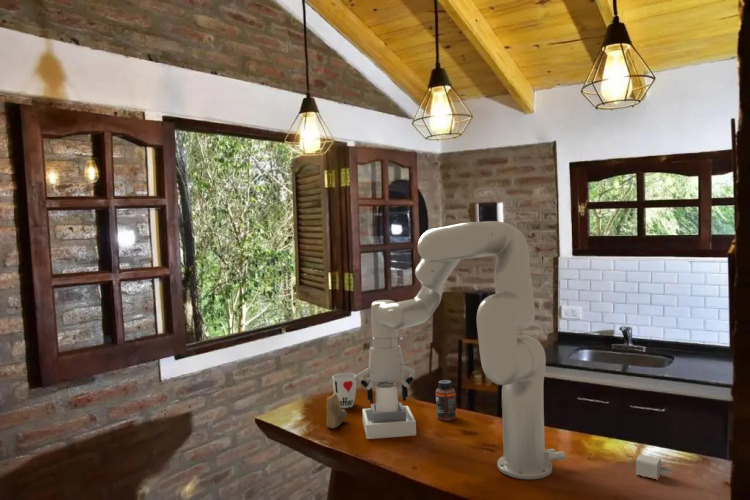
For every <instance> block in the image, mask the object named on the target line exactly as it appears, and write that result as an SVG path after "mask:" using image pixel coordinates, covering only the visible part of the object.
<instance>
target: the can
mask: <svg viewBox="0 0 750 500" xmlns="http://www.w3.org/2000/svg"><path fill="white" fill-rule="evenodd" d="M398 392H399V391H398V388H397V384H396V383H395V382H384V383H376V388H375V404H376V413H387V412H398V402H399V393H398Z"/></svg>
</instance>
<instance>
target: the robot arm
mask: <svg viewBox="0 0 750 500" xmlns="http://www.w3.org/2000/svg"><path fill="white" fill-rule="evenodd" d="M417 252H418V255H419V256H420V258H421V260H420V261H419V262H418V264H417V266H416V268H415V271H414V274H415V277H416V279H417V280H418V281H419V283H420V284H422V286H421V288H420V290H419V291H418V293H417V294H416V295H415V297H414V298H412V299H407V300H402V301H401V300H400V301H397V302H396V301H394V300H391V299H378V300H375V301H372V303H371V305H370V316H371V318H370V319H371V337H372V338H371V339H372V346H370V347H369V350H368V367H366V368H364V369H363V370H361V371H360V372H358V373H357V374H356V378H357V379H358V380H359V383H360V384H361V385H362V386H363V387H364V388H365V389H366V396H367V399H366V400H368V401H369V403H370V404H374V395H373V394H374V393H373V386H374V385H375V384H378V383H384V382H393V383H395V382H400V383H401V399H402V401H403V402H406V401H407V398H408V387H409V386H410V384H411V383H412V382H413V381H414V378H415V376H416V374H417V371H416V370H415V368H412V367H409V366H407V365H405V364H404V359H403V352H402V347H401V345H399V344H402V343H403V342H404V338H403V337H399V334H398V333H399V332H398V331H399V330H402V329H407V328H410V327H416V326H418V325H421V324H424V323H426V322H427V321H428V320H429V319H430V318H431V316H432V315H433V314H434V313H435V311H436V309H438V307H439V305H440V303H441V300H442V296H443V286H444V284H445V283H446V281H447V280H448V279H449V276H450V275H451V274H452V273H453V272H454V270H455V268H456V267H457V265H458V264H459V262H460V261H461V260H467V259H476V258H485V257H495V258H496V260H495V266H494V270H493V278H494V287H495V288H494V289H495V293H493V294H491V295H488V296H487V297H485V298H484V299H483V300H481V302H480V303H479V305H478V308H477V311H476V328H477V329H476V330H477V339H478V340H477V341H478V347H479V357H480V364H481V368H482V370H483V372H484V375H485V376H486V378H487V379H489V381H490V382H492V383H494V384H496V385H499V386H502V388H501V408H502V409H501V410H502V411H501V412H502V413H501V415H502V417H501V418H502V442H503V443H502V444H503V448H502V449H503V455H502V456H500V457H499V458H498V459H497V463H496V465H497V469H498V470H499V471H500V472H501V473H502V474H504V475H506V476H508V477H511V478H515V479H519V480H538V479H544V478H546V477H548V476H550V475H551V473H552V472H553V465H552V463H553V462H554V461H563V460H566V453H565V451H564V450H561V451H559V450H558V451H556V449H555V448H548V449H547V448H546V447H545V446H546V445H545V415H544V414H545V412H544V405H545V404H544V402H545V401H544V381H545V373H546V363H547V359H546V352H545V349H544V347H543V345H542V343H541V342H540V341H539V340H538V339H537V338H536V337H533V336H531V335H525V334H521V335H519V334H518V335H517V332H520V331H521V330H525V329H527V328H529V327H530V326H532V324H533V322H534V321H535V317H536V307H535V299H534V289H533V281H532V275H531V266H530V265H531V264H530V263H531V262H530V251H529V246H528V241H527V240H526V237H525V235H524V234H523V233H522V231H520V230H519V229H518V228H517V227H515V226H514V225H512V224H510V223H506V222H503V221H496V220H492V221H490V220H487V221H486V220H485V221H468V222H467V221H466V222H461V223H455V224H451V225H446V226H439V227H434V228H429V229H427V230H425V232H423V233H422V235H421V236H419V239H418V242H417ZM405 372H407V373H409V375H408V376H407V378H406V379H405ZM366 375H368V379H369V380H368V381H366V379H364V376H366Z"/></svg>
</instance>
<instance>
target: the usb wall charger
mask: <svg viewBox="0 0 750 500" xmlns="http://www.w3.org/2000/svg"><path fill="white" fill-rule="evenodd" d="M672 473H674V469H673V468H669V467H665V466H662V459H661V458H658V457H655V456H649V455H646V454H639V455H638V456H637V458H636V459H635V475H636V474H637V475H643V476H648V477H654V478H658V476H659V475H660V474H661V475H665V476H670V477H672Z"/></svg>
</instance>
